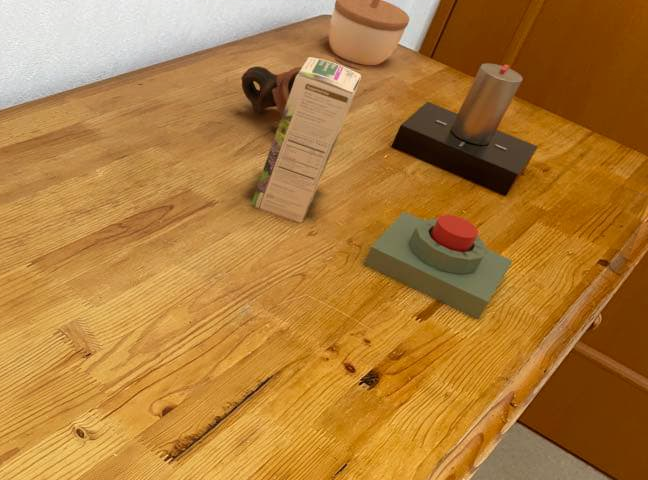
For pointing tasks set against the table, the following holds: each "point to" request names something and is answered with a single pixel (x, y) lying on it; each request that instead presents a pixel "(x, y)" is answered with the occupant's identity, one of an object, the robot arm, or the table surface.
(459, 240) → the button
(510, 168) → the panel
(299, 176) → the syrup box
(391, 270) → the red push button box
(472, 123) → the knob
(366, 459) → the table surface
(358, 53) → the trinket box
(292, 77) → the pottery mug
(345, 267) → the table surface
